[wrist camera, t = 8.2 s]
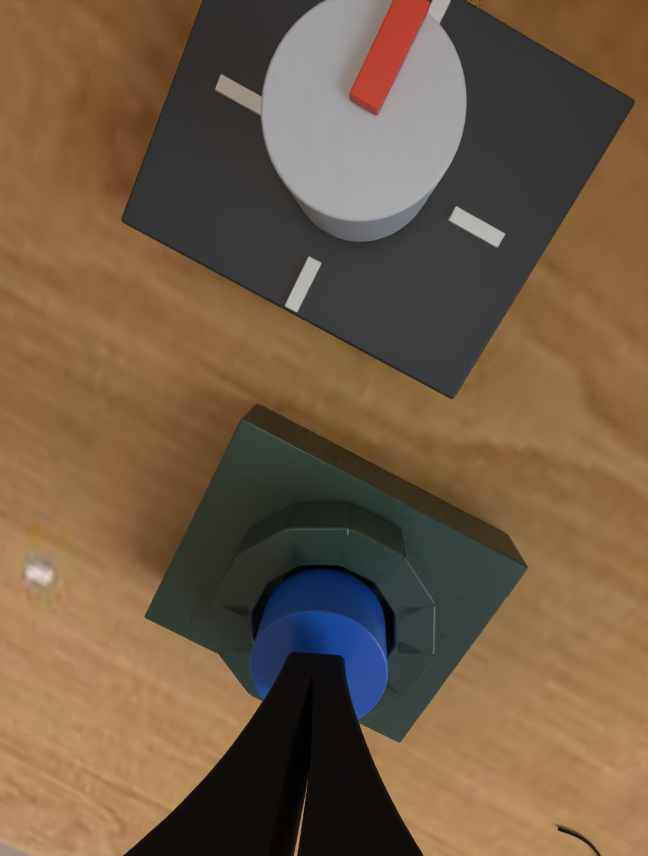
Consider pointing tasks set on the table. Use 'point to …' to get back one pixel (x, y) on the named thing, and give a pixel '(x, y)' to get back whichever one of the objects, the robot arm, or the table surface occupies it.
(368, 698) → the power button
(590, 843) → the headset
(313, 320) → the dimmer console
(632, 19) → the table surface
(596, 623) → the table surface
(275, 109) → the dimmer knob
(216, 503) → the switch box
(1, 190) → the table surface
